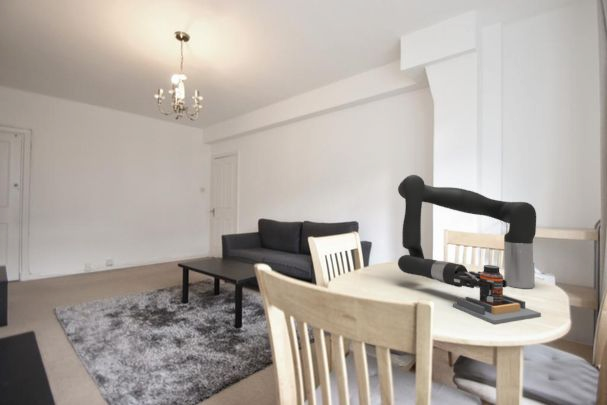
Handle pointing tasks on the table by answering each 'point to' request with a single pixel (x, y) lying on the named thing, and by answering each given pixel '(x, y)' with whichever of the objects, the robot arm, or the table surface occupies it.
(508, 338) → the table surface
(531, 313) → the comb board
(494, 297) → the supplement bottle
